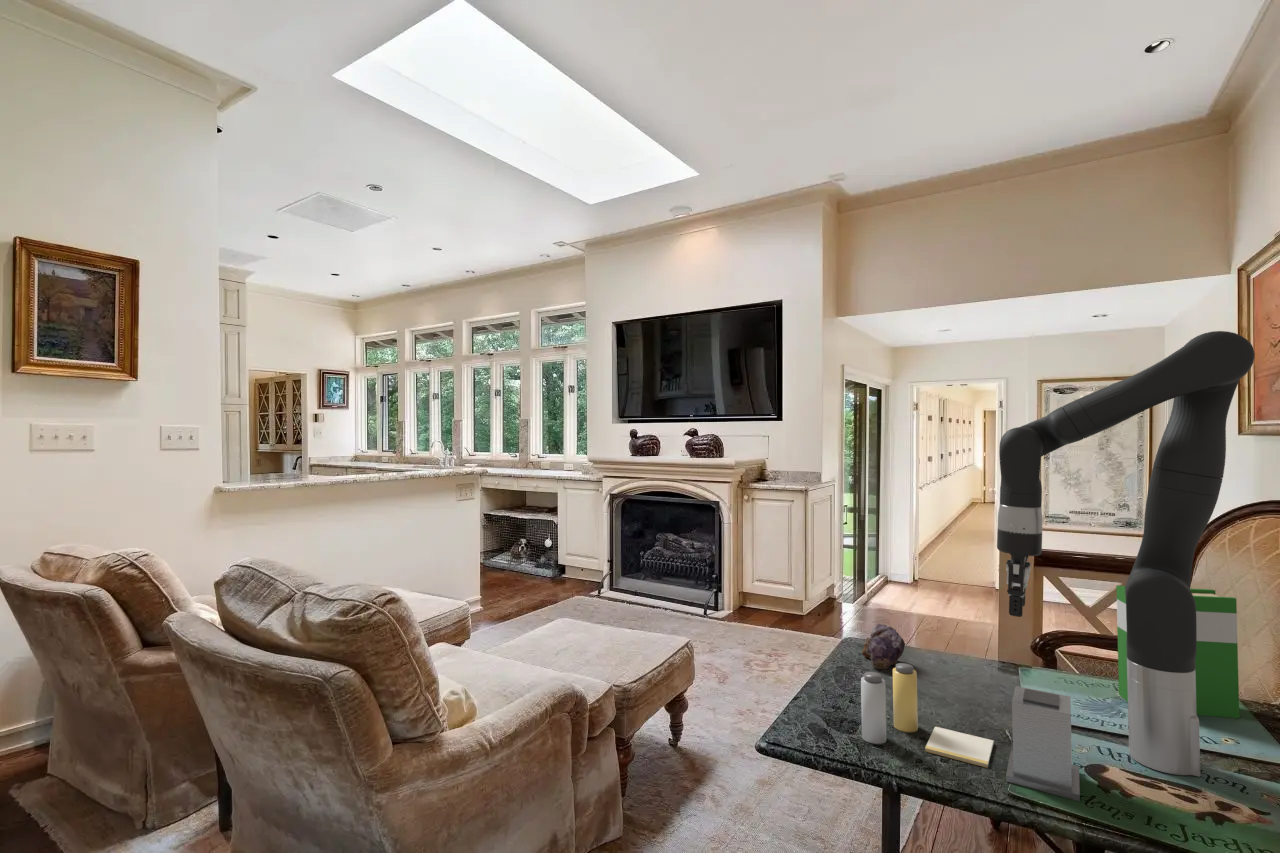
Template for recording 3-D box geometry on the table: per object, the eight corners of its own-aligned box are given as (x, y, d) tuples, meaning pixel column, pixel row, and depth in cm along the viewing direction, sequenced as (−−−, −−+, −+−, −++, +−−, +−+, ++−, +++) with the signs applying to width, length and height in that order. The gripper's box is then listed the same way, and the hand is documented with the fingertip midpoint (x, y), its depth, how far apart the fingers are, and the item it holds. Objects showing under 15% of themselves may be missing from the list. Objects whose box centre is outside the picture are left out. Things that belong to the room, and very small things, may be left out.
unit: (1079, 772, 105) (1077, 693, 105) (1079, 801, 97) (1077, 715, 97) (1010, 755, 111) (1009, 680, 111) (1006, 781, 103) (1004, 700, 103)
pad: (993, 743, 115) (993, 740, 115) (987, 767, 107) (987, 764, 107) (935, 729, 121) (935, 726, 121) (925, 751, 112) (925, 747, 112)
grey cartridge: (889, 736, 118) (887, 673, 118) (883, 746, 115) (882, 681, 115) (865, 730, 121) (864, 669, 121) (859, 739, 117) (858, 676, 117)
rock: (865, 674, 152) (909, 676, 150) (864, 641, 151) (908, 643, 148) (860, 650, 163) (900, 652, 161) (859, 620, 162) (900, 621, 160)
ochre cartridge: (919, 725, 122) (918, 664, 123) (915, 734, 119) (914, 672, 119) (896, 719, 125) (895, 660, 125) (891, 728, 121) (890, 667, 121)
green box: (1215, 702, 131) (1212, 589, 131) (1239, 718, 124) (1236, 598, 124) (1118, 694, 135) (1116, 585, 136) (1136, 709, 128) (1133, 593, 128)
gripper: (1041, 536, 113) (1038, 624, 113) (1043, 525, 125) (1041, 605, 125) (994, 531, 117) (991, 615, 118) (1000, 521, 129) (998, 598, 129)
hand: (1017, 610), depth 121 cm, fingers open, 8 cm apart
